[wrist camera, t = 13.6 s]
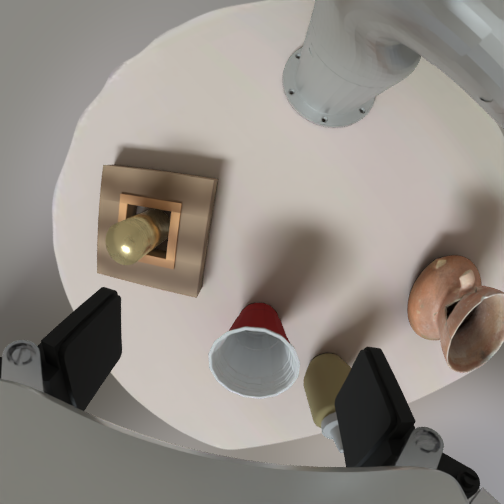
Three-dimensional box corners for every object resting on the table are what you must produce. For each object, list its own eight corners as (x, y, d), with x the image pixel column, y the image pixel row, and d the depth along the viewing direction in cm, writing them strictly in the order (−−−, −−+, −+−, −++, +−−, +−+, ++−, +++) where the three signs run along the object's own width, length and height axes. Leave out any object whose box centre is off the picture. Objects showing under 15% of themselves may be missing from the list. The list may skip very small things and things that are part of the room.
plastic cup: (229, 278, 41) (214, 319, 30) (302, 294, 42) (313, 340, 30) (216, 339, 45) (201, 389, 33) (282, 353, 45) (284, 406, 33)
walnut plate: (113, 164, 38) (102, 165, 34) (218, 179, 38) (213, 180, 34) (106, 266, 42) (96, 273, 39) (201, 288, 42) (195, 298, 39)
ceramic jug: (390, 266, 40) (434, 312, 26) (462, 228, 37) (519, 257, 23) (410, 350, 44) (442, 403, 31) (472, 315, 41) (513, 356, 28)
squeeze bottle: (297, 381, 46) (304, 466, 29) (307, 345, 44) (321, 432, 27) (341, 383, 46) (361, 463, 29) (354, 348, 44) (385, 429, 27)
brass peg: (141, 206, 39) (106, 218, 30) (173, 211, 39) (145, 226, 30) (138, 239, 41) (104, 260, 31) (169, 245, 41) (141, 269, 31)
